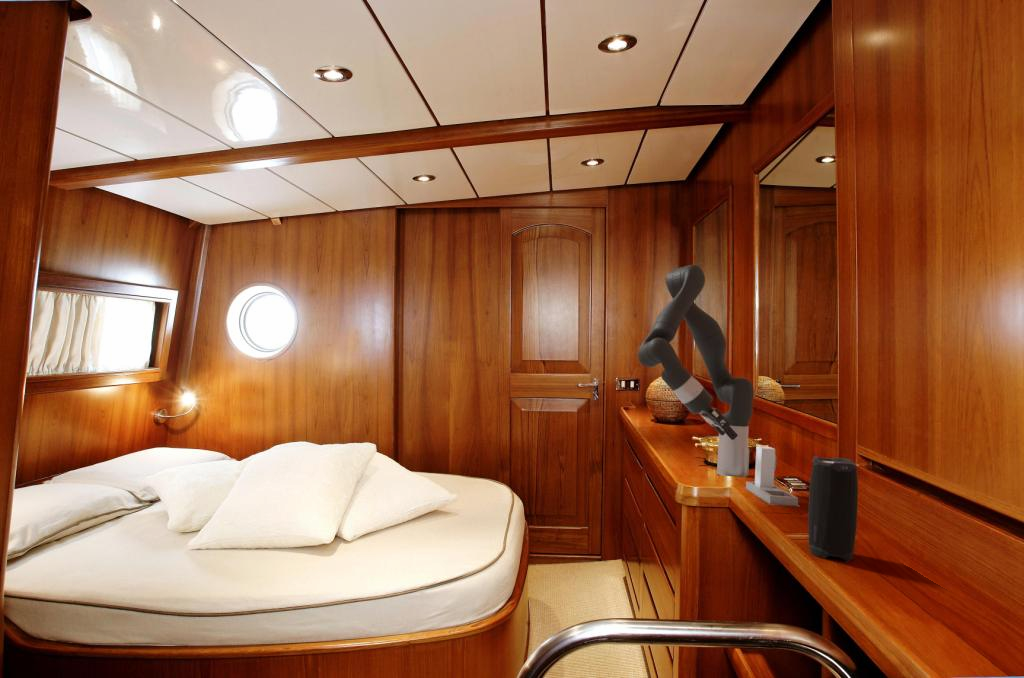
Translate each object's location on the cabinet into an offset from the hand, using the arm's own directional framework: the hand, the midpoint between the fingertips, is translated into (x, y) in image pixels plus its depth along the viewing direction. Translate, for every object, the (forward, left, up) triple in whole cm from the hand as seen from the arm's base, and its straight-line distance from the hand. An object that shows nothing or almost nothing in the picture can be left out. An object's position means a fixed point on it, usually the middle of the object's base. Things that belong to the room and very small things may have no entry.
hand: (729, 435), depth 160 cm
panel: (-7, +9, -17) cm, 20 cm away
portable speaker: (+20, +43, -17) cm, 51 cm away
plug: (-9, +5, -16) cm, 19 cm away
